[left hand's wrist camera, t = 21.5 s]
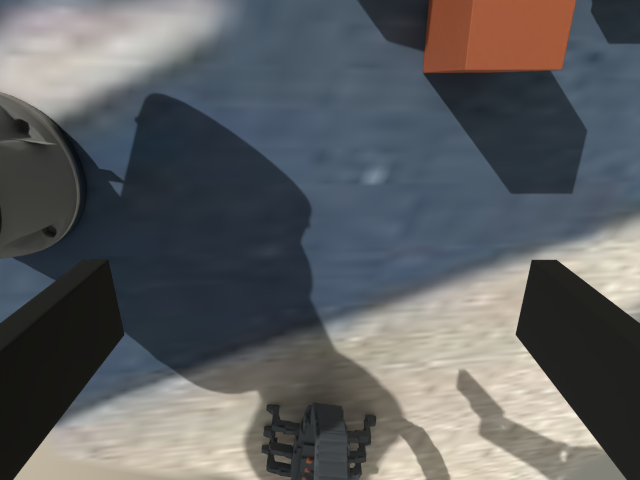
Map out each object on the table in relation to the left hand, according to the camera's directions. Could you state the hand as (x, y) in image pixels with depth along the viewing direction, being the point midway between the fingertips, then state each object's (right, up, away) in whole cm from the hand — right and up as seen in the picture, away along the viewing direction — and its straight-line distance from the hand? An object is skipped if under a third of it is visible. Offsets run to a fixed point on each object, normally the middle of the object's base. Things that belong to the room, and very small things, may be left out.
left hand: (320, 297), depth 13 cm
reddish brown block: (+12, +19, +21) cm, 31 cm away
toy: (-1, -24, +38) cm, 45 cm away
